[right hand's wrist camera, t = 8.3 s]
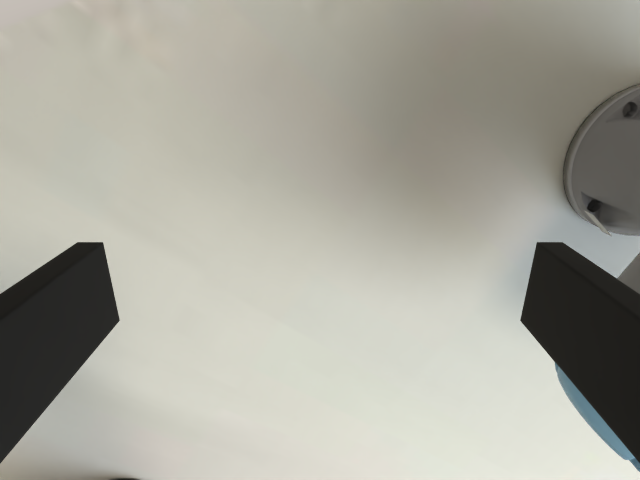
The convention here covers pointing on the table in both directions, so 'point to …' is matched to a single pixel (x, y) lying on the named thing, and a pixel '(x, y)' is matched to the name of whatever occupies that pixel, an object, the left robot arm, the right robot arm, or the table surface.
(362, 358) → the table surface
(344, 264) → the table surface
